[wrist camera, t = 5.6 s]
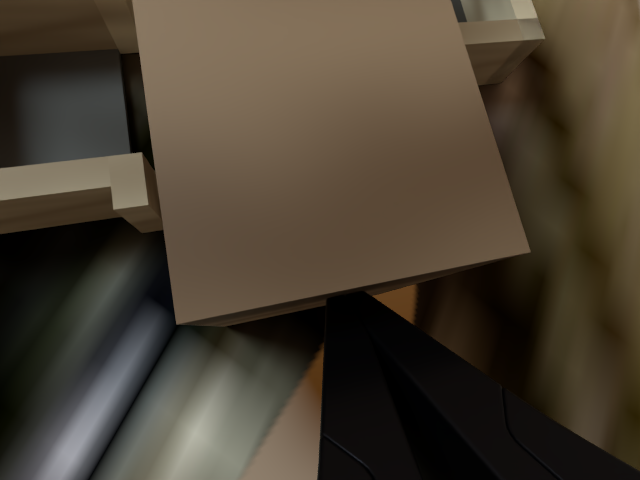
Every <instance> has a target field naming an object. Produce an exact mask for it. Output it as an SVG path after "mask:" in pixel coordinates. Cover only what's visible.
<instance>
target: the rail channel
mask: <svg viewBox="0 0 640 480" xmlns="http://www.w3.org/2000/svg"><path fill="white" fill-rule="evenodd" d="M451 2H452V6H453V9H454V12H455V15H456V18H457V21H458V24H459V28H460V31H461V34H462V37H463V40H464V43H465V47H466V50H467V53H468V56H469V59H470V62H471V65H472V69H473V72H474V75H475V78H476V81H477V84H478V85H488V84H498V83H501V82H502V81H503V80H504V79H505V78H506V77H507V76H508V75H509V74H510V73H511V72H512V71H513V70H514V69H515V68H516V67H517V66H518V65H519V64H520V63H521V62H522V61H523V60H524V59H525V58H526V57H527V56H528V55H529V54H530V53H531V52H532V51H533V50H534V49H535V48H536V47H537V46H538V45H539V44H540V43H541V42H542V41H543V40H544V39H545V37H544V34H543V31H542V28H541V26H540V23H539V20H538V17H537V14H536V12H535V9H534V6H533V3H532V0H451ZM127 53H139V47H138V40H137V32H136V25H135V18H134V10H133V3H132V0H0V234H4V233H11V232H18V231H25V230H32V229H39V228H47V227H54V226H61V225H68V224H75V223H82V222H89V221H96V220H103V219H110V218H117V217H123V218H124V219H125V220H127V221H128V222H129V223H130V224H132V225H133V226H134V227H135V228H136V229H138V230H139V231H140V232H141V233H146V232H153V231H159V230H163V222H162V215H161V208H160V200H159V193H158V186H157V178H156V173H155V172H154V170H153V169H152V167H151V166H150V164H149V163H148V161H147V160H146V158H145V157H144V155H143V153H142V152H141V153H132V145H131V137H130V128H129V120H128V111H127V103H126V95H125V86H124V78H123V70H122V61H121V54H127Z"/></svg>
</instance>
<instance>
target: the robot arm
mask: <svg viewBox="0 0 640 480" xmlns="http://www.w3.org/2000/svg"><path fill="white" fill-rule="evenodd" d="M320 427H321V428H320V444H319V464H318V477H317V480H640V471H638V470H637V469H635V468H633V467H632V466H630V465H628V464H626V463H625V462H623V461H621V460H620V459H618V458H616V457H614V456H613V455H611V454H609V453H608V452H606V451H604V450H602V449H601V448H599V447H597V446H595V445H594V444H592V443H590V442H589V441H587V440H585V439H584V438H582V437H580V436H579V435H577V434H575V433H574V432H572V431H570V430H569V429H567V428H566V427H564V426H562V425H561V424H559V423H557V422H556V421H554V420H552V419H551V418H549V417H548V416H546V415H545V414H543V413H542V412H540V411H539V410H537V409H536V408H534V407H533V406H531V405H530V404H528V403H527V402H525V401H524V400H522V399H521V398H519V397H518V396H516V395H515V394H513V393H512V392H511V391H509V390H508V389H506V388H503V389H502V386H501V385H500V384H499V383H497V382H496V381H494V380H493V379H491V378H490V377H488V376H487V375H486V374H484V373H483V372H481V371H480V370H478V369H477V368H475V367H474V366H473V365H471V364H470V363H468V362H467V361H465V360H464V359H462V358H461V357H459V356H458V355H457V354H455V353H454V352H452V351H451V350H449V349H448V348H446V347H445V346H443V345H442V344H441V343H439V342H438V341H436V340H435V339H433V338H432V337H430V336H429V335H427V334H426V333H425V332H423V331H422V330H420V329H419V328H417V327H416V326H414V325H413V324H411V323H410V322H409V321H407V320H406V319H404V318H403V317H401V316H400V315H398V314H397V313H396V312H394V311H393V310H391V309H390V308H388V307H387V306H385V305H384V304H382V303H381V302H380V301H378V300H377V299H375V298H374V297H372V296H371V295H369V294H368V293H366V292H365V291H359V292H354V293H350V294H346V295H340V296H335V297H330V298H327V299H326V313H325V335H324V358H323V381H322V404H321V426H320Z"/></svg>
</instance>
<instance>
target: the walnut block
mask: <svg viewBox="0 0 640 480" xmlns="http://www.w3.org/2000/svg"><path fill="white" fill-rule="evenodd" d="M132 3H133V10H134V18H135V25H136V32H137V40H138V47H139V54H140V61H141V69H142V76H143V83H144V91H145V98H146V105H147V113H148V120H149V127H150V135H151V142H152V149H153V156H154V164H155V171H156V178H157V186H158V193H159V200H160V208H161V215H162V222H163V230H164V237H165V244H166V251H167V259H168V266H169V273H170V281H171V288H172V295H173V303H174V310H175V317H176V324H180V325H203V326H230V325H235V324H239V323H244V322H249V321H254V320H258V319H263V318H268V317H273V316H277V315H282V314H287V313H292V312H297V311H301V310H306V309H311V308H316V307H320V306H325V305H326V299H327V298H330V297H335V296H340V295H346V294H350V293H354V292H359V291H365V292H366V293H368V294H369V295H371V296H373V295H377V294H381V293H384V292H388V291H392V290H395V289H399V288H403V287H406V286H410V285H414V284H417V283H421V282H424V281H428V280H432V279H435V278H439V277H442V276H446V275H450V274H453V273H457V272H460V271H464V270H468V269H471V268H475V267H479V266H482V265H486V264H489V263H493V262H497V261H500V260H504V259H507V258H511V257H515V256H518V255H522V254H525V253H529V252H531V251H530V248H529V245H528V242H527V239H526V235H525V232H524V229H523V226H522V223H521V220H520V217H519V213H518V210H517V207H516V204H515V201H514V198H513V195H512V191H511V188H510V185H509V182H508V179H507V176H506V172H505V169H504V166H503V163H502V160H501V157H500V154H499V150H498V147H497V144H496V141H495V138H494V135H493V132H492V128H491V125H490V122H489V119H488V116H487V113H486V110H485V106H484V103H483V100H482V97H481V94H480V91H479V87H478V84H477V81H476V78H475V75H474V72H473V69H472V65H471V62H470V59H469V56H468V53H467V50H466V47H465V43H464V40H463V37H462V34H461V31H460V28H459V24H458V21H457V18H456V15H455V12H454V9H453V6H452V2H451V0H132Z"/></svg>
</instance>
